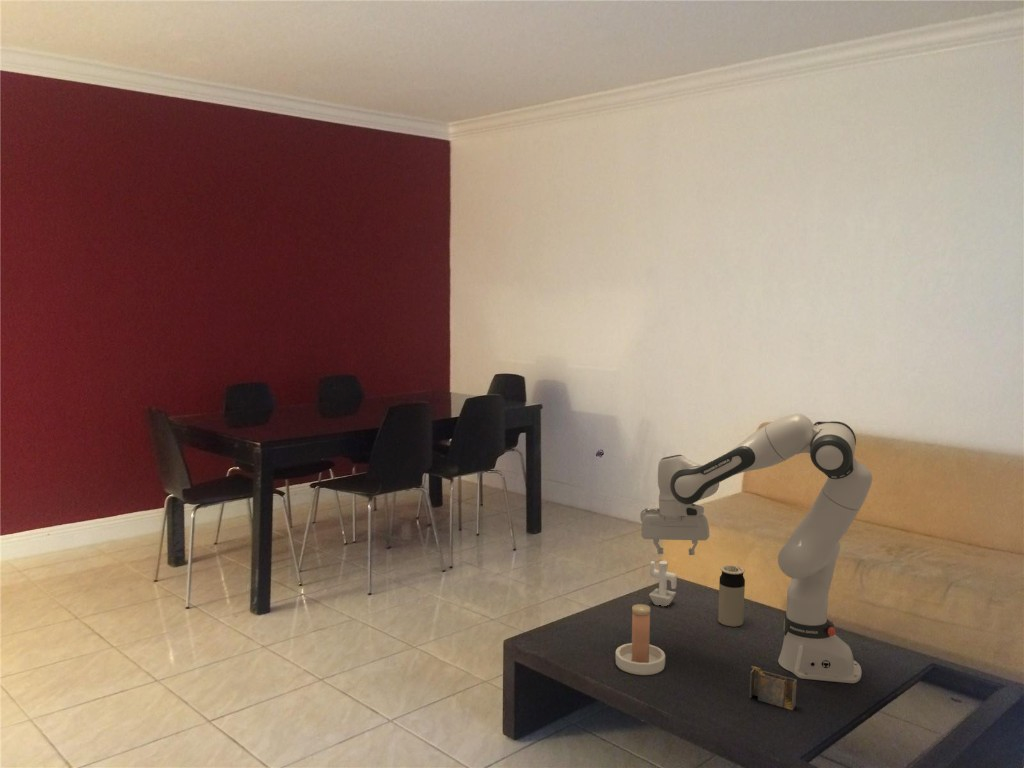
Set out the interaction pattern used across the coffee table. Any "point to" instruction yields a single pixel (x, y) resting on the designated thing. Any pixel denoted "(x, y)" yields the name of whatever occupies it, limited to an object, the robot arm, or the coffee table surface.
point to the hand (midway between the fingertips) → (676, 554)
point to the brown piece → (773, 688)
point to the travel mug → (731, 596)
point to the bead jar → (640, 633)
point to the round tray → (650, 668)
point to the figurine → (662, 584)
